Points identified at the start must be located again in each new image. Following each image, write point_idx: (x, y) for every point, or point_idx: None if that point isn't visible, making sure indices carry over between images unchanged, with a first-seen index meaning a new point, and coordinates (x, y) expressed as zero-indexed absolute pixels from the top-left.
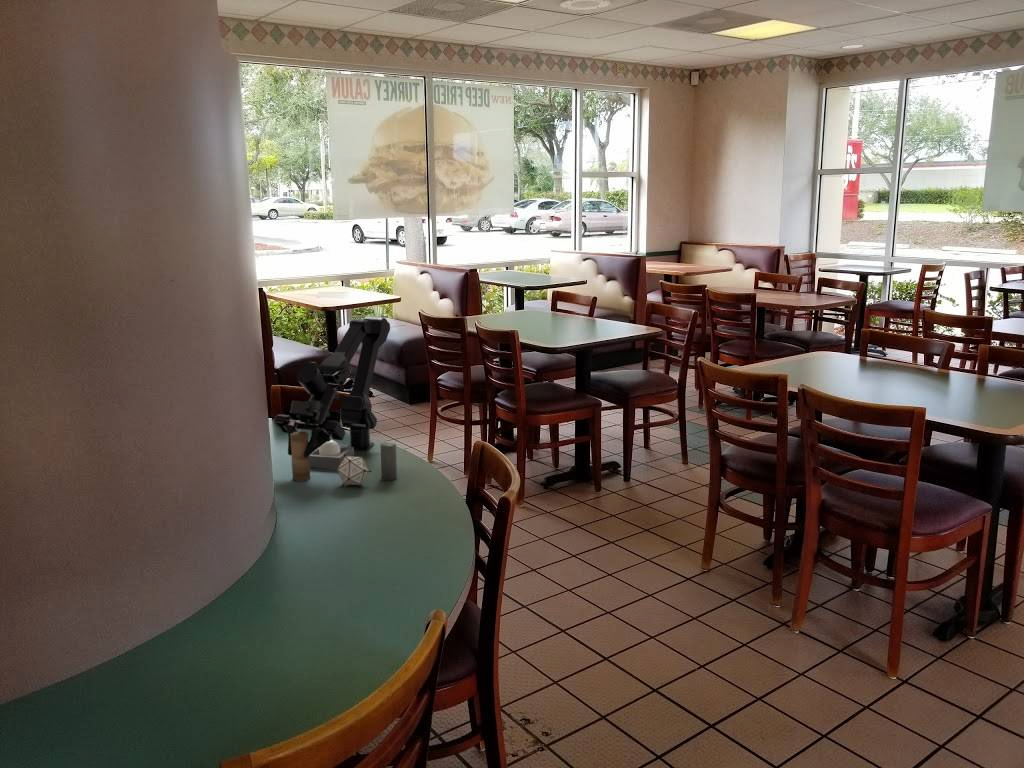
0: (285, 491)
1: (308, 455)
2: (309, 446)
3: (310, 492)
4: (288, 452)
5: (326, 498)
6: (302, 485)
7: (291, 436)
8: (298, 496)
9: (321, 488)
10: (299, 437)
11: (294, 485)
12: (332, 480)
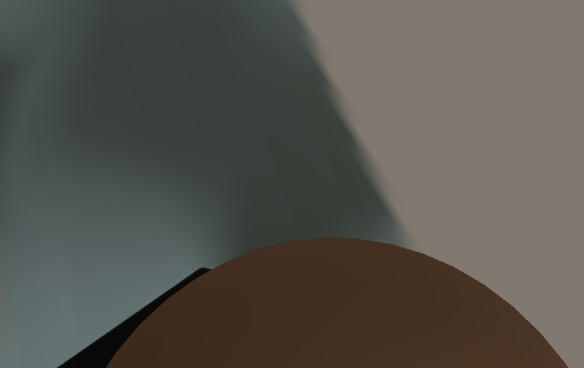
0: (316, 85)
1: None
2: (106, 342)
3: (149, 86)
4: None
5: (24, 4)
6: (243, 206)
7: (496, 304)
8: (204, 16)
9: (93, 164)
10: (245, 257)
11: (299, 200)
12: (46, 342)
